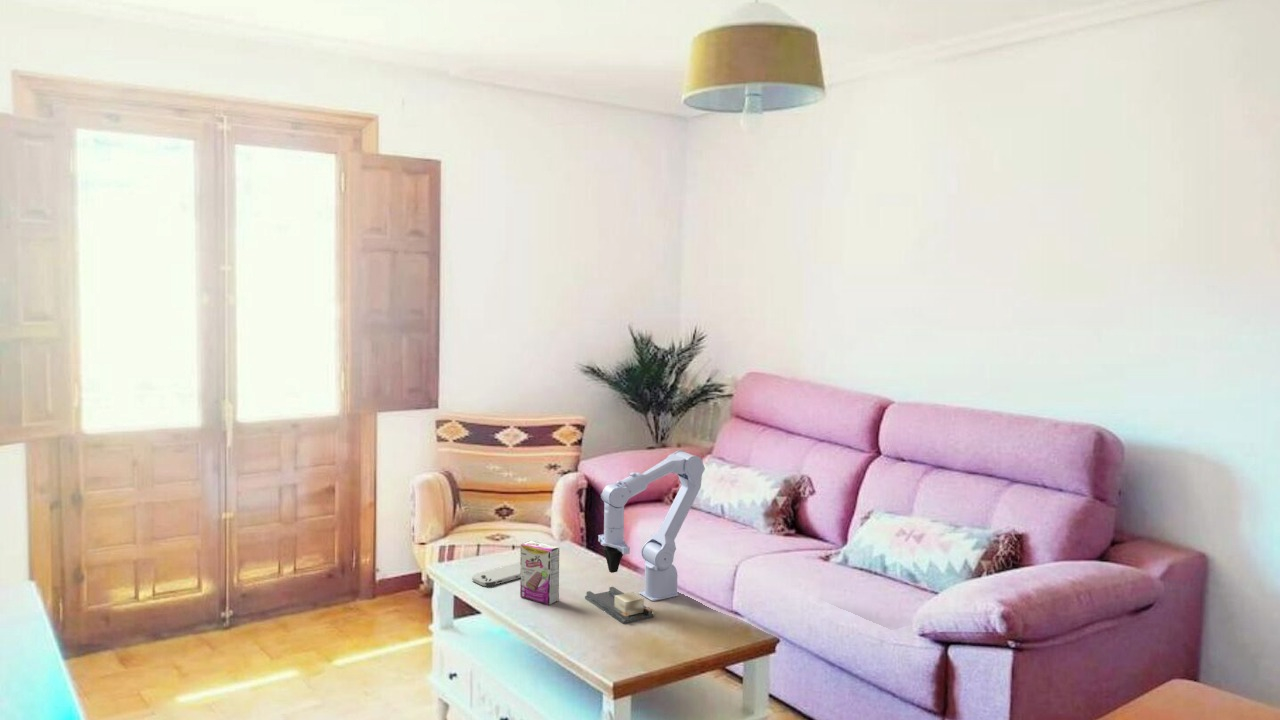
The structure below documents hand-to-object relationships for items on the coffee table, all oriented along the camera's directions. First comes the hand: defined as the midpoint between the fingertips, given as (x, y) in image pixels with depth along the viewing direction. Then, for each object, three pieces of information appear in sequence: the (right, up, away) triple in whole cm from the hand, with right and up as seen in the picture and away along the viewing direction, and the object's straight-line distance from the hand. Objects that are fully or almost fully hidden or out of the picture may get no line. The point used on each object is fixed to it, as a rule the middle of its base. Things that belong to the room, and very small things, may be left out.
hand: (613, 571), depth 262 cm
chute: (+2, -10, -3) cm, 10 cm away
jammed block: (+5, -9, -8) cm, 13 cm away
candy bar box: (-22, -9, +3) cm, 24 cm away
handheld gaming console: (-34, -7, +23) cm, 42 cm away
